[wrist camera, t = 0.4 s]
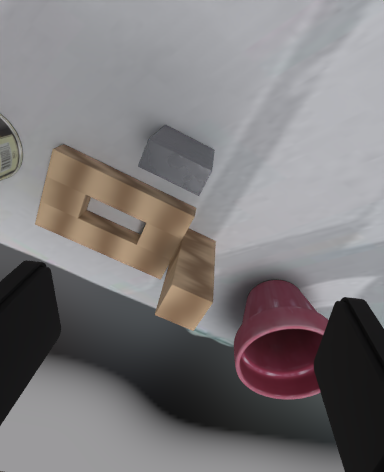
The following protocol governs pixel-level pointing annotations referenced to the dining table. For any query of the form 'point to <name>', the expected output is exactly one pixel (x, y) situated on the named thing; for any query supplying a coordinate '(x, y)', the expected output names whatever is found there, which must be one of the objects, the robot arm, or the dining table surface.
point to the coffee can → (9, 150)
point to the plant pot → (279, 342)
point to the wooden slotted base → (129, 242)
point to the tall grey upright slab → (178, 159)
